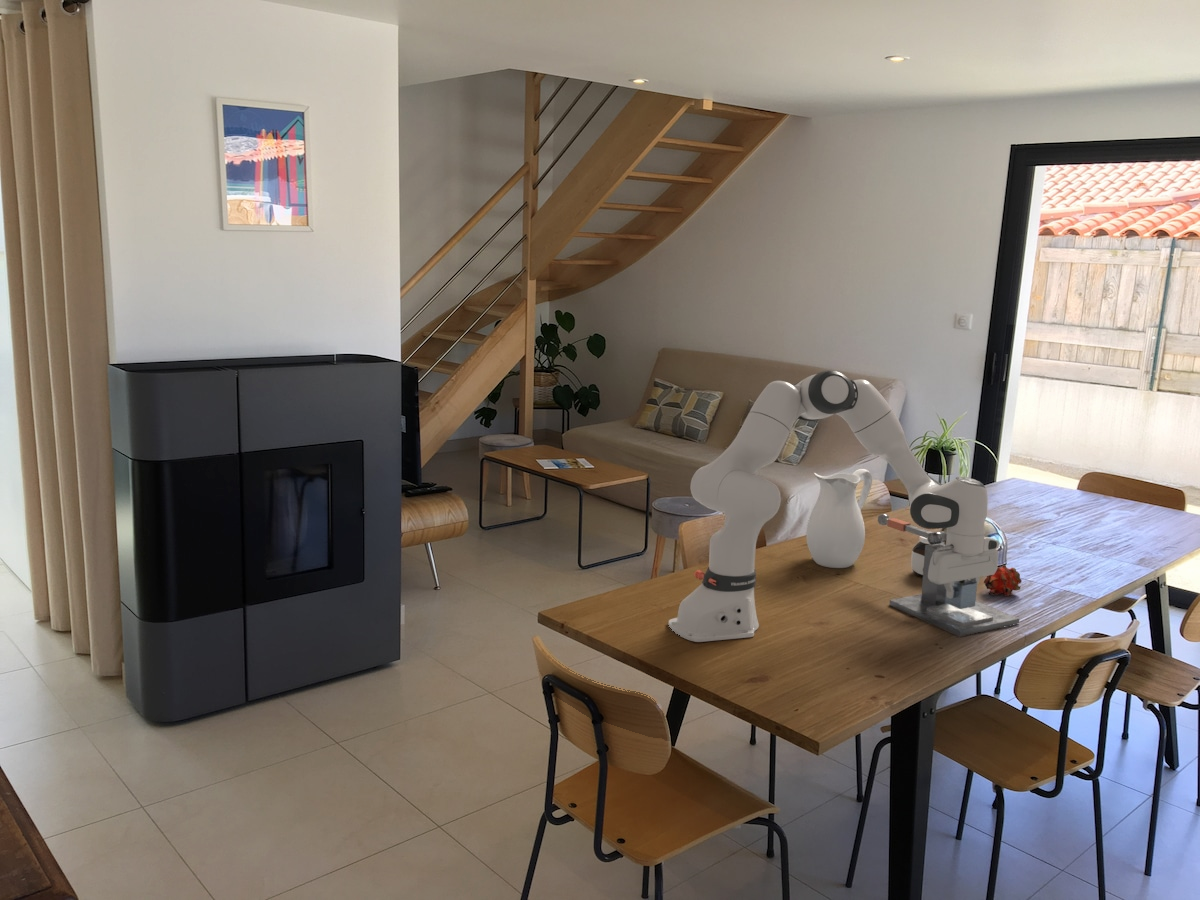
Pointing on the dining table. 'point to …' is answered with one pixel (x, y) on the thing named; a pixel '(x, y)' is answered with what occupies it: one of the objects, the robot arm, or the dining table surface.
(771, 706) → the dining table surface
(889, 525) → the lever
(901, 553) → the dining table surface
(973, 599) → the block
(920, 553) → the spread jar
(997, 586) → the dragon fruit
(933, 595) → the stand
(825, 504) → the pitcher
